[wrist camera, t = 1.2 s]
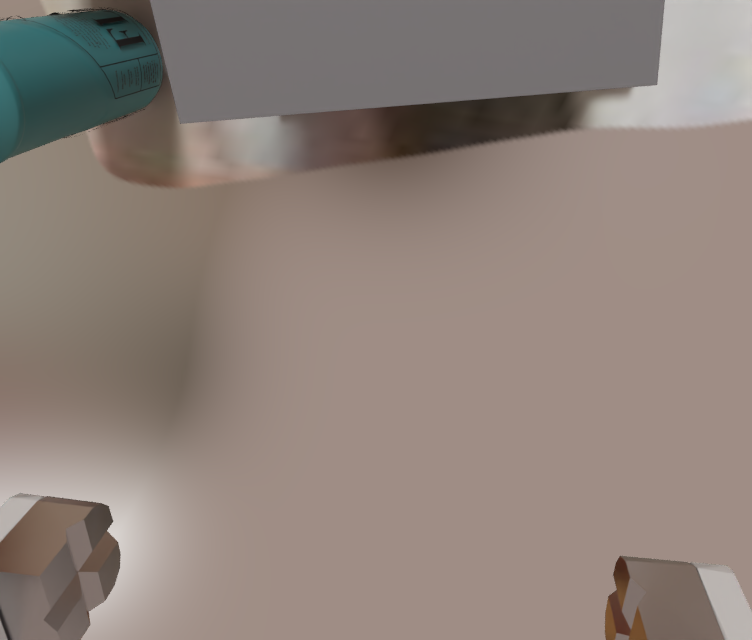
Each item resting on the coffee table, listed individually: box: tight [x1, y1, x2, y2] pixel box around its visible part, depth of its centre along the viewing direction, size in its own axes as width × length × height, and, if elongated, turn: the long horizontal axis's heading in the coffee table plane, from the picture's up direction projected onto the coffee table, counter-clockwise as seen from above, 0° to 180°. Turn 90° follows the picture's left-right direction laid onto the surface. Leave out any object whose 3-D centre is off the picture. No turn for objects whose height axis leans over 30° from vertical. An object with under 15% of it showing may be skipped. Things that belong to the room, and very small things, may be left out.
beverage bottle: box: [0, 7, 163, 163], centre depth 34 cm, size 6×7×20 cm
